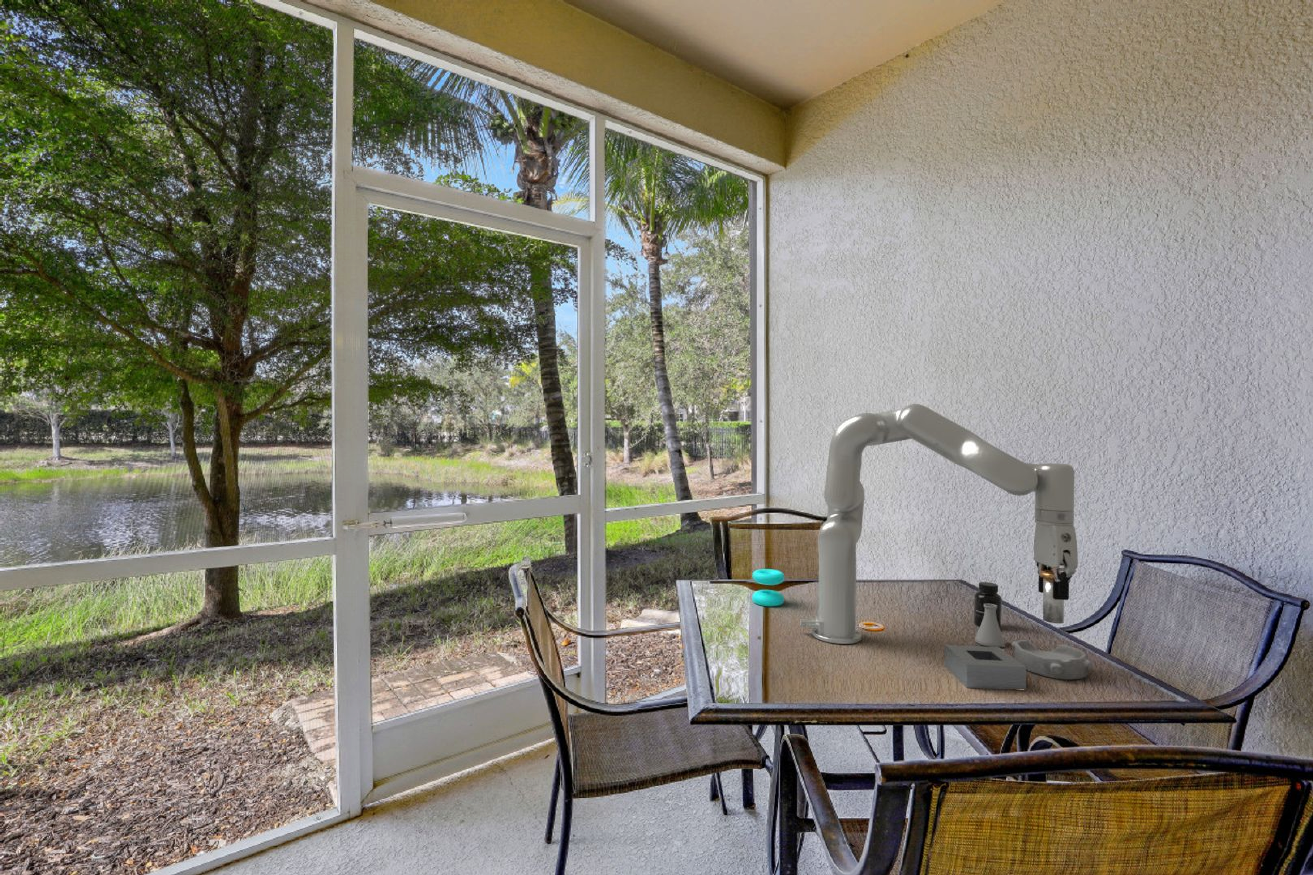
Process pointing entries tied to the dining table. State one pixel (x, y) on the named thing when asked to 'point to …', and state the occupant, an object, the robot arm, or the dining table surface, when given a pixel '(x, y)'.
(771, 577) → the donuts
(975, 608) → the supplement bottle
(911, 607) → the dining table surface
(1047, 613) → the pin
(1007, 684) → the gray square-hole block
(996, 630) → the flask
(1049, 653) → the dish
